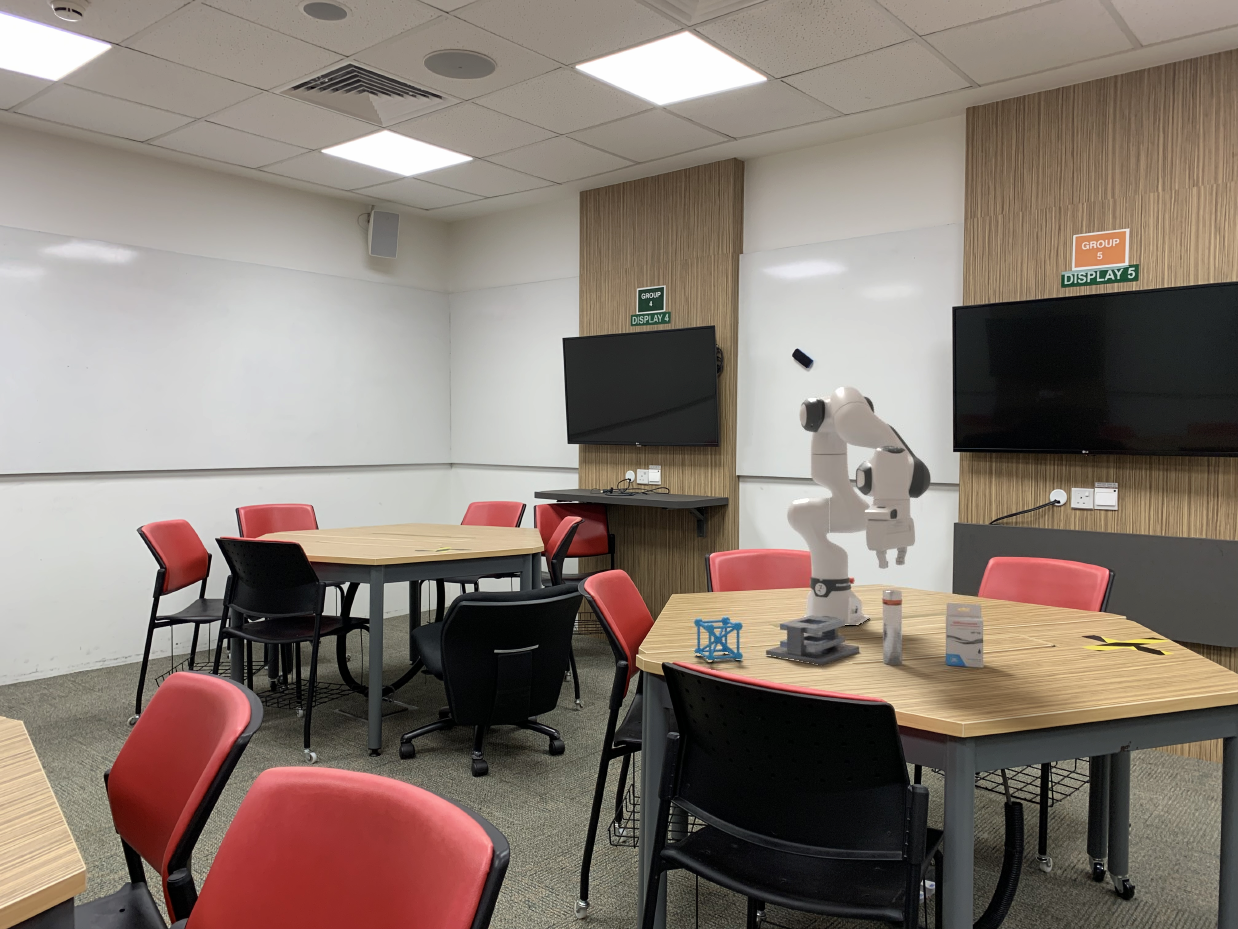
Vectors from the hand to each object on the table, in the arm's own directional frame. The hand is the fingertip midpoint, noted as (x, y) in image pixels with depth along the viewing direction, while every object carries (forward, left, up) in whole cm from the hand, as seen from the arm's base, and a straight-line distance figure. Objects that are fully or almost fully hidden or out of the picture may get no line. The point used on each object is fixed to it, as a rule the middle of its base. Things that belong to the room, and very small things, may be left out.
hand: (892, 566), depth 214 cm
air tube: (0, 0, -24) cm, 24 cm away
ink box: (-10, +14, -24) cm, 30 cm away
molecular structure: (+24, -36, -24) cm, 50 cm away
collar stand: (+4, -20, -24) cm, 32 cm away
